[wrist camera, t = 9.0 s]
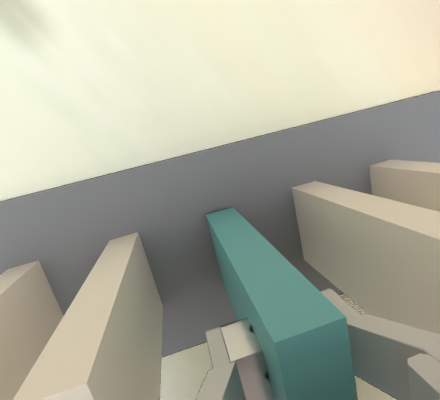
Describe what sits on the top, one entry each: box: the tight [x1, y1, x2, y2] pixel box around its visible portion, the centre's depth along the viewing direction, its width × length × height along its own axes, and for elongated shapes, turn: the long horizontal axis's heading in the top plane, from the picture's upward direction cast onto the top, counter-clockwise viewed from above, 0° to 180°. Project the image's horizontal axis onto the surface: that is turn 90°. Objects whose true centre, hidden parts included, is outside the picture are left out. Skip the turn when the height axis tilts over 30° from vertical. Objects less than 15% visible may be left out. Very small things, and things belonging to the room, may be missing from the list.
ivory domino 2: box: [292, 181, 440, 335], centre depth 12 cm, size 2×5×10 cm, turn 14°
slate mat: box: [0, 91, 440, 358], centre depth 17 cm, size 32×12×1 cm, turn 103°
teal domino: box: [206, 207, 358, 400], centre depth 11 cm, size 2×5×10 cm, turn 13°
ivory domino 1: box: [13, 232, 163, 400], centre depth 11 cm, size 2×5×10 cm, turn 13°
